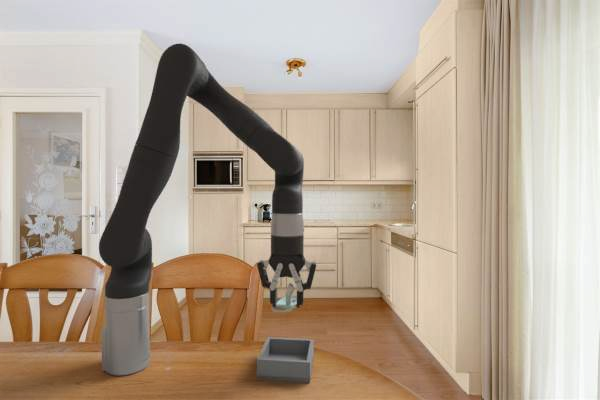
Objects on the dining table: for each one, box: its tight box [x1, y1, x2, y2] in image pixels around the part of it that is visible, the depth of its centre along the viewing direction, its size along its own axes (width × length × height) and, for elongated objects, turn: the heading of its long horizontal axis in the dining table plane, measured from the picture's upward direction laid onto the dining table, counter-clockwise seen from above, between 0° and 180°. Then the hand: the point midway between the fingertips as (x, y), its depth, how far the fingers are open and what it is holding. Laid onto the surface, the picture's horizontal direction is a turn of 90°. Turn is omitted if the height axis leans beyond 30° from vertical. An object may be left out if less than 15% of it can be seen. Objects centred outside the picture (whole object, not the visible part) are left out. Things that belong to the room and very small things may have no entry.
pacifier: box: [270, 282, 297, 313], centre depth 82 cm, size 7×6×6 cm
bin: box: [256, 336, 315, 384], centre depth 83 cm, size 12×12×4 cm
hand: (286, 305), depth 82 cm, fingers closed on pacifier, 5 cm apart
